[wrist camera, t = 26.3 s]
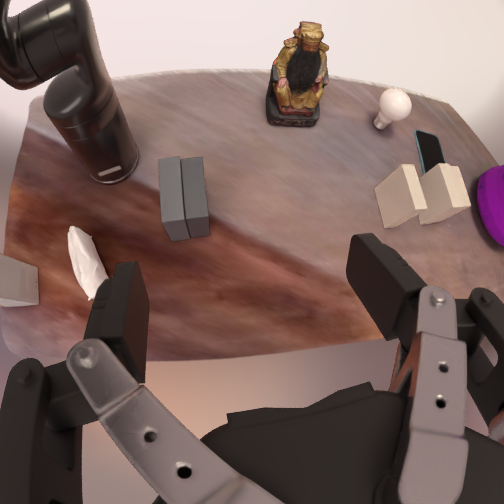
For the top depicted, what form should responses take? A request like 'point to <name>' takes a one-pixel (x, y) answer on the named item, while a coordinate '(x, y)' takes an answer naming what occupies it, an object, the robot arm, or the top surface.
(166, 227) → the grey books
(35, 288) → the small box
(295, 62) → the statue
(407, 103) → the lightbulb
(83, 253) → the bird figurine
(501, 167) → the decorative plant
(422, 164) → the smartphone
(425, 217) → the white books
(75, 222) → the top surface
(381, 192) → the white book
